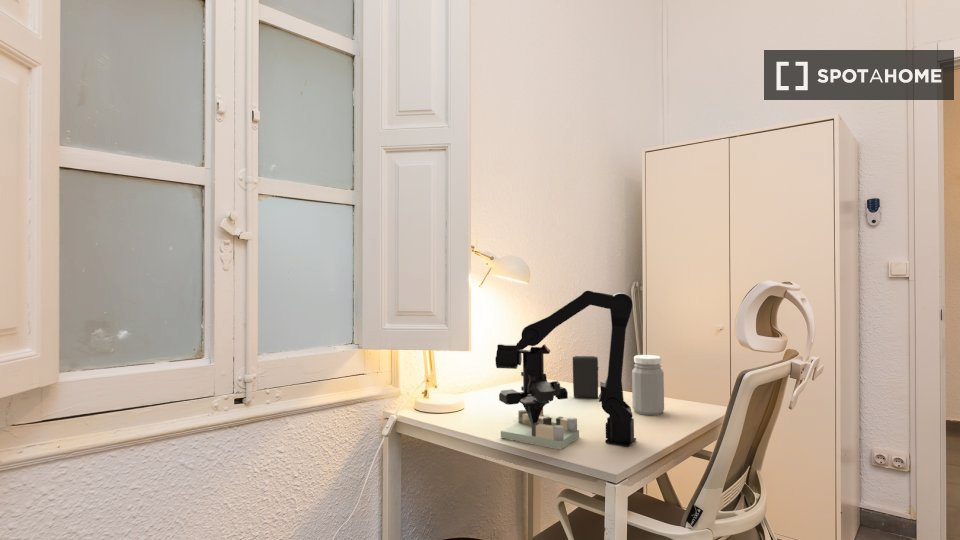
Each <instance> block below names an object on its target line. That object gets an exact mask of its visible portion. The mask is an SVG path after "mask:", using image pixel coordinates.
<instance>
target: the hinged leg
mask: <svg viewBox="0 0 960 540" xmlns="http://www.w3.org/2000/svg"><path fill="white" fill-rule="evenodd" d="M517 415H518V417H517V418H518V421H517V423H518V422H519V423H523V424H526V425H529V426H532V424H531V422H530V419H529V417H528V414H527V412H526V410H525V409H518V414H517ZM552 422H553V421H552V417H549V416H543V415H542V416H539V419H538V421H537V423H539V424H545V425H551V426H552Z"/></svg>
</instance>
